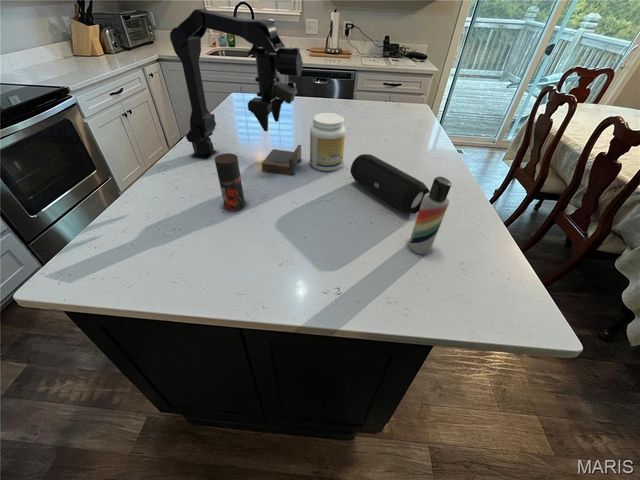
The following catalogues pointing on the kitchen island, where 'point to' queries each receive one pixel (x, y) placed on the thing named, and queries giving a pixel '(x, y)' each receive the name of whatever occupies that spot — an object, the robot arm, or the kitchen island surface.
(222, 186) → the deodorant
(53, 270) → the kitchen island surface
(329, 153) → the supplement tub
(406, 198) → the portable speaker
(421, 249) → the lotion bottle
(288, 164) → the brown l-shaped stand
